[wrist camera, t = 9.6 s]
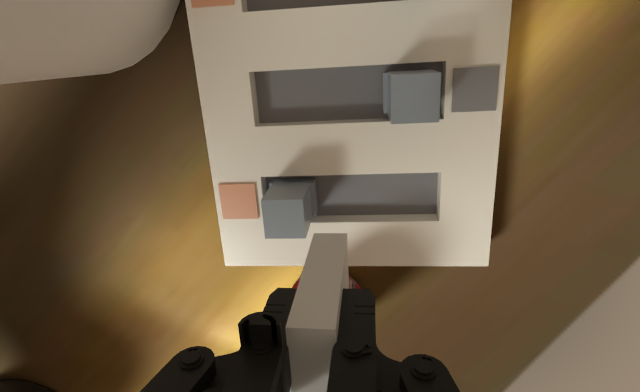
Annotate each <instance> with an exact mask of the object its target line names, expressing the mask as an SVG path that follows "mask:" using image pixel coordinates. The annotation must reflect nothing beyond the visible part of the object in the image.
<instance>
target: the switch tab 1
mask: <svg viewBox="0 0 640 392" xmlns="http://www.w3.org/2000/svg"><path fill="white" fill-rule="evenodd" d="M261 207H262V216H263V225H264V234H265V239H300V238H306V236H307V233H308V230H309V227H310V223H311V220H312V216H316V214H317V211H318V207H317V192H316V178H312V179H272V181H271V182H270V184H269V189H268V190H267V192H266V193H265V195H264V196H263V198H262V199H261Z"/></svg>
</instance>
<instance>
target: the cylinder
mask: <svg viewBox="0 0 640 392" xmlns="http://www.w3.org/2000/svg"><path fill="white" fill-rule="evenodd" d="M179 3H180V0H0V84H8V83H18V82H28V81H38V80H48V79H58V78H68V77H78V76H88V75H99V74H109V73H112V72H115V71H118V70H121V69H124V68H127V67H131V66H133V65H135V64H136V63H137V62H139V61H140V60H141V59H143V58H144V57H146V56H147V55H148V54H150V53H151V52H152V51H154V49H155V48H156V47H157V45H158V44H159V43H160V41H161V40H162V38H163V37H164V36H165V34H166V33H167V32H168V30H169V29H170V26H171V24H172V21H173V18H174V16H175V13H176V10H177V8H178V5H179Z"/></svg>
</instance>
